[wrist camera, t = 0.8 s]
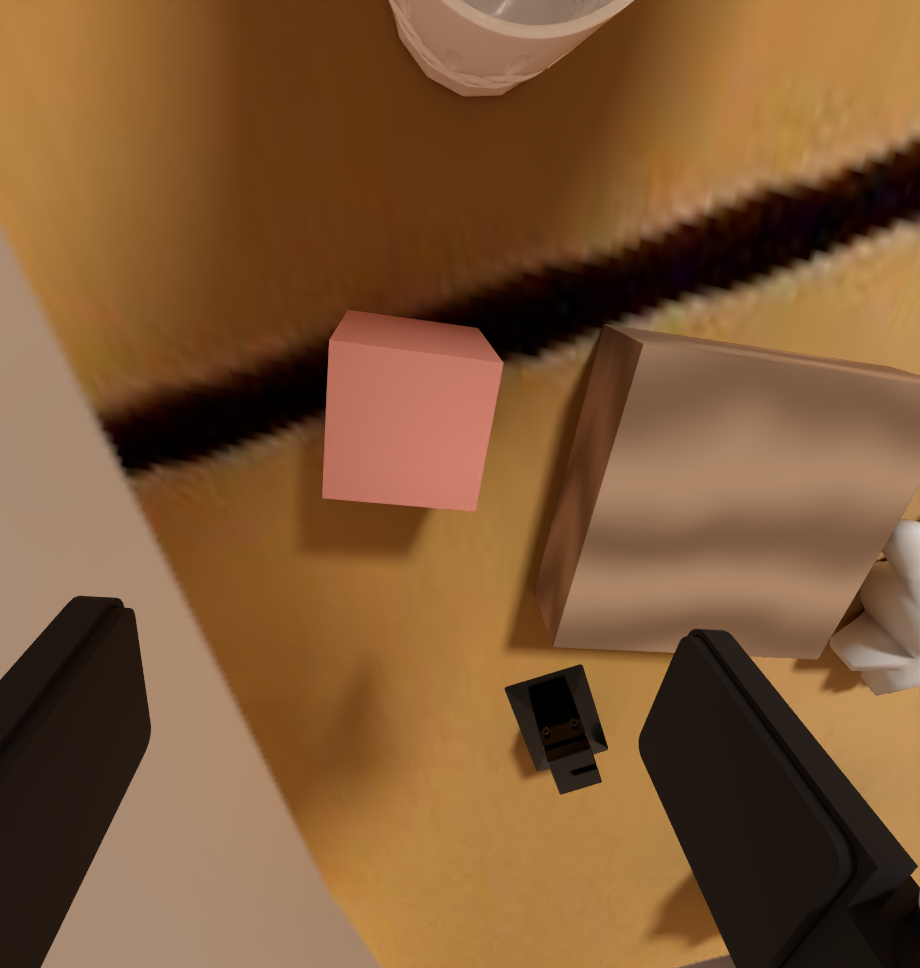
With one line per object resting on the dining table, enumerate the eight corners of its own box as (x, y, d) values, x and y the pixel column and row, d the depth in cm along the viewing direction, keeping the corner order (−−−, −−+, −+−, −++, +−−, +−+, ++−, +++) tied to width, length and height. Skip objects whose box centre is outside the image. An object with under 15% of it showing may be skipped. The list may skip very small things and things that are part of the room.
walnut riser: (601, 322, 26) (643, 343, 21) (883, 364, 28) (975, 391, 24) (531, 588, 32) (552, 647, 28) (764, 603, 35) (817, 659, 30)
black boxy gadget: (618, 752, 40) (643, 811, 36) (528, 780, 41) (542, 841, 37) (586, 636, 35) (611, 691, 31) (481, 670, 35) (492, 728, 31)
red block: (348, 309, 24) (329, 339, 18) (478, 327, 25) (503, 363, 18) (341, 433, 26) (321, 498, 20) (458, 445, 27) (475, 511, 21)
